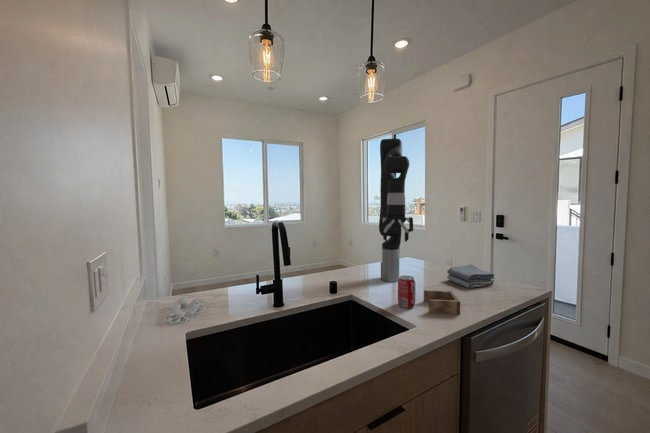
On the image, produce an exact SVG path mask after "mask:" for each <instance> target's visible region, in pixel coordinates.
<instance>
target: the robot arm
mask: <svg viewBox="0 0 650 433" xmlns="http://www.w3.org/2000/svg"><path fill="white" fill-rule="evenodd" d="M402 153H403V143H402V140H401V139H400V138H383V139H381V140H380V144H379V156H380V157H379V158H380V183H379V184H380V208H379V210H380V211H379V219H378V220H379V221H378V231H379V234H380V235H381V236H382V238H383V241H384V242H382V244H381V262H380V280H382V281H384V282H388V283H389V282H390V283H393V282H394V283H396V282H398V280H399V279H400V249H401V248H400V247H401V246H400V245H401V243H402V230H404V242H406V243H407V242H408V241H409V236H410V235H409V233H411V232H413V231H414V218H413V217H411V216H410V217H406V193H405V191H406V190H405V187H406V178H407V175H408V172H409V167H410V160H409V158H408V157H407V156H405V155H403V154H402ZM395 174H399V176H398V177H396V175H395ZM406 221H407V222H408V224H409V226H408V228H407V227H406V226H405V222H406Z"/></svg>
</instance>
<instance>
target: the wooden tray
mask: <svg viewBox="0 0 650 433" xmlns="http://www.w3.org/2000/svg"><path fill="white" fill-rule="evenodd" d="M423 302H424V303H428V312H429V313H430V314H444V315H445V314H447V315H461V301H460V299H458V297H457V296H456V295H455V294H454V293H453V291H451V290H431V289H424V290H423Z"/></svg>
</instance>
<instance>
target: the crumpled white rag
mask: <svg viewBox="0 0 650 433" xmlns="http://www.w3.org/2000/svg"><path fill="white" fill-rule="evenodd" d="M187 303H188V299H187V297H184V296H181V297H179V298H178V299H177V300H176V301H175V302H174V303H172V305H171V306H170V310H169V311H167V312H166V314H165V315H164V318H163V320H164V321H166V322H167V323H169V324H176V325H179V324H185V323H187V322H190V319H192V318H194V316H195V314H201V313H203V312H204V311H205V309H206V307H208V306H209V302H208V301H206V300H205V299H204V298H203V297H195V298H193V299H192V300H191V302H190V303H189V304H188V305H187ZM201 303H202V304H201ZM203 303H206V305H204V304H203ZM186 305H187V307H185V309H182V307H184V306H186ZM181 309H182V310H181ZM200 309H202V310H201V311H199V310H200ZM181 319H184V321H181ZM174 320H175V321H174Z"/></svg>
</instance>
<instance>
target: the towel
mask: <svg viewBox="0 0 650 433" xmlns="http://www.w3.org/2000/svg"><path fill="white" fill-rule="evenodd" d="M446 273H447V276H446V279H448V281H451V282H453V283H455V284H458V285H460V286H463V287H465V288H468V289H472V288H480V287H483V286H488V285H489V286H490V285H493V284H494V282H495V273H492V272H490V271H487V270H482V269H479V267H477V266H475V265H474V264H473V263H471V264H467V265H460V266H453V267H450V268H448V269H447V272H446Z"/></svg>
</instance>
